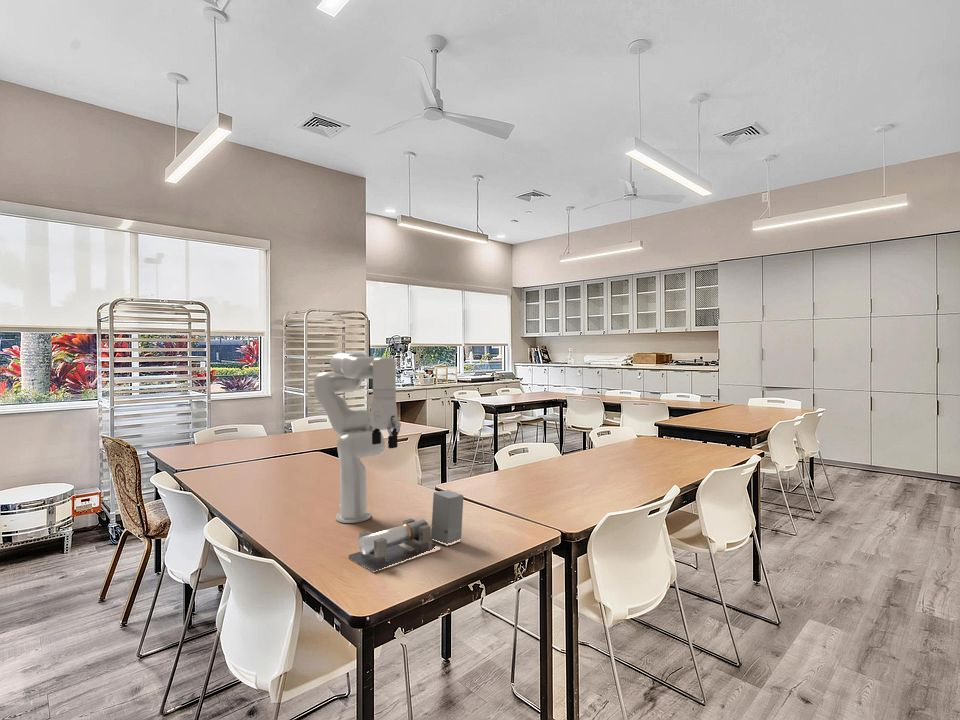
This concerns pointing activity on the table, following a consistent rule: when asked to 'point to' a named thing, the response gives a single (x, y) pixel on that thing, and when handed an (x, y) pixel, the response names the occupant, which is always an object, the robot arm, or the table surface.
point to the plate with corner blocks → (394, 549)
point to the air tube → (392, 536)
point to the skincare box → (447, 516)
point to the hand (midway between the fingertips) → (384, 445)
